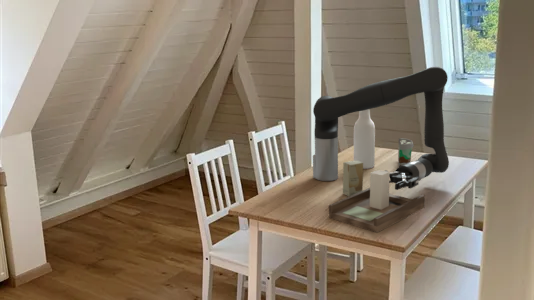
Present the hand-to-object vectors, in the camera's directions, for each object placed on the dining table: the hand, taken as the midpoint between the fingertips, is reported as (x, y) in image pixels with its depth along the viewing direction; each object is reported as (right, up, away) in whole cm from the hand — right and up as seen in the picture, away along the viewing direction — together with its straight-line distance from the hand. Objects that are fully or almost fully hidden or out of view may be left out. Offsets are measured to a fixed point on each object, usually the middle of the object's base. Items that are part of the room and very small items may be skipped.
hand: (385, 184), depth 191 cm
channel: (-2, -9, 0) cm, 10 cm away
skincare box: (-8, -5, +19) cm, 21 cm away
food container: (+20, +5, +54) cm, 58 cm away
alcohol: (+2, +4, +52) cm, 52 cm away
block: (-2, -7, 0) cm, 8 cm away
